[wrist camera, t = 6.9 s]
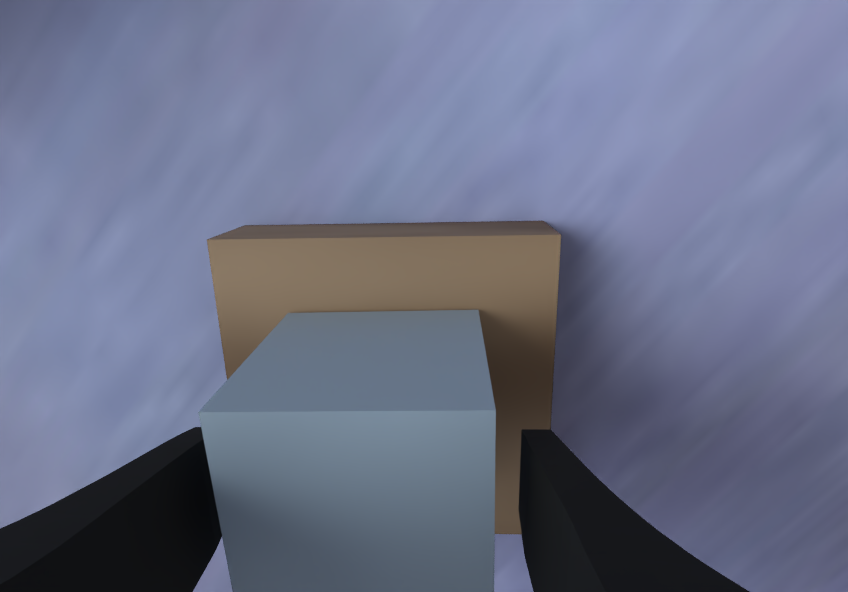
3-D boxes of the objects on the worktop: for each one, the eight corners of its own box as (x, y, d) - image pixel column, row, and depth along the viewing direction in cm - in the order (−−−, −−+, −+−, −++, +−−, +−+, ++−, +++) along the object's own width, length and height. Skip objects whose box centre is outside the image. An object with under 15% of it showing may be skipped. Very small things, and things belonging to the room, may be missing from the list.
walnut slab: (529, 472, 18) (544, 534, 15) (280, 469, 18) (248, 529, 15) (540, 218, 15) (561, 234, 12) (251, 222, 16) (206, 239, 13)
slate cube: (478, 473, 15) (493, 638, 10) (307, 473, 15) (241, 633, 10) (478, 309, 13) (496, 410, 8) (287, 312, 13) (198, 412, 9)
